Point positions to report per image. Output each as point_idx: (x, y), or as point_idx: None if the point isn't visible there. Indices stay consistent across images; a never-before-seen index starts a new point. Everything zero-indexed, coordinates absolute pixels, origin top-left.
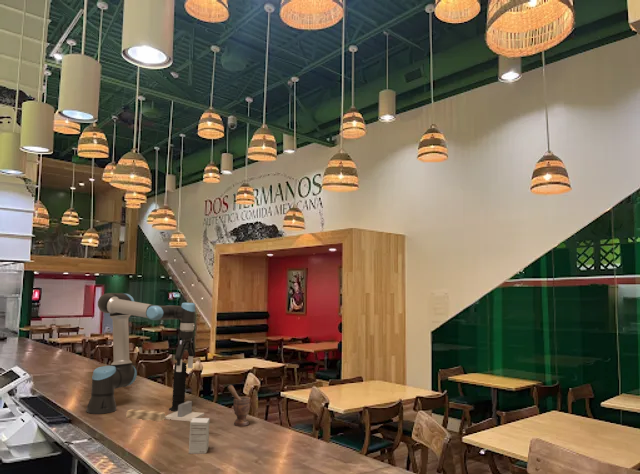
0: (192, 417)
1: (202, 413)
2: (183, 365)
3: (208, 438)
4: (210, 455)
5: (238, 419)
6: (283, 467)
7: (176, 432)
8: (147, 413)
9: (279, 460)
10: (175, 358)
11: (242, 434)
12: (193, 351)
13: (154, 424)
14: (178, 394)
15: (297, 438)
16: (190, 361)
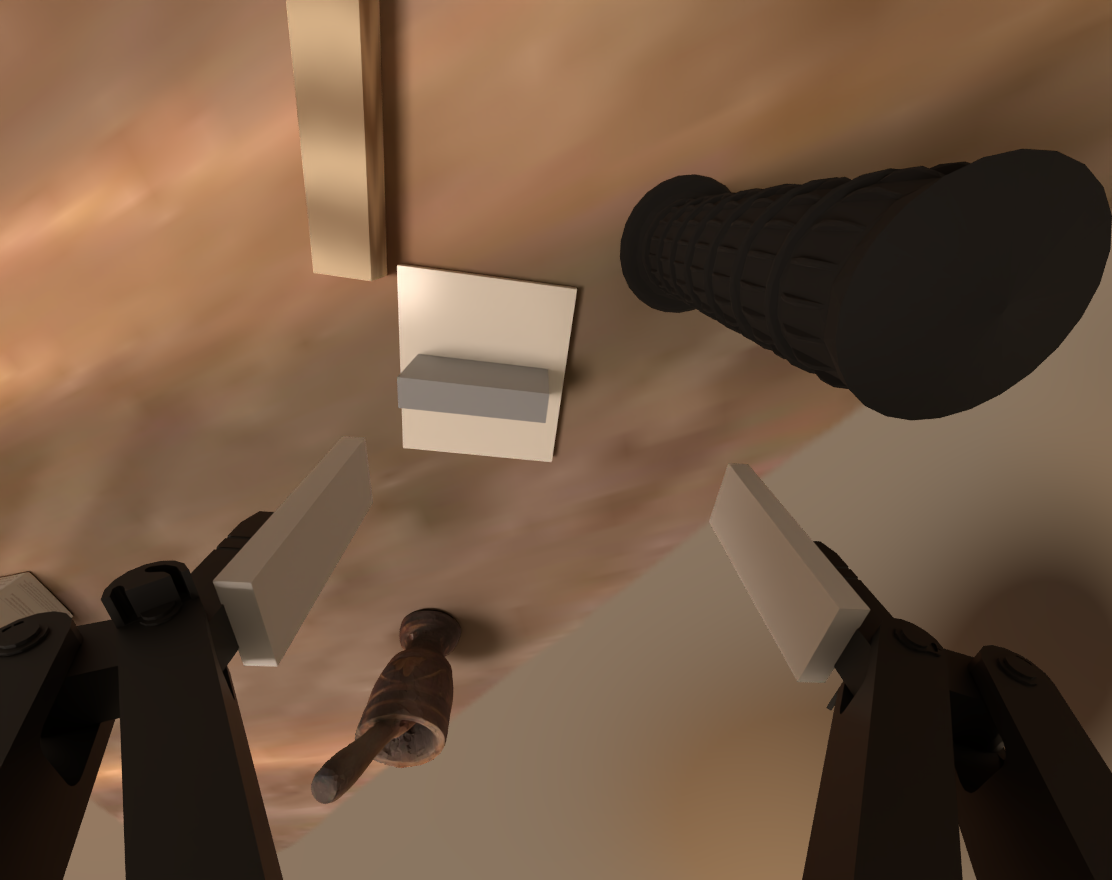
0: (434, 438)
1: (536, 457)
2: (844, 382)
3: None
4: None
5: (407, 644)
6: None
7: (182, 443)
8: (302, 144)
9: (116, 768)
10: (126, 587)
11: (300, 659)
12: (963, 791)
13: (255, 260)
14: (675, 271)
15: None
16: (761, 570)
